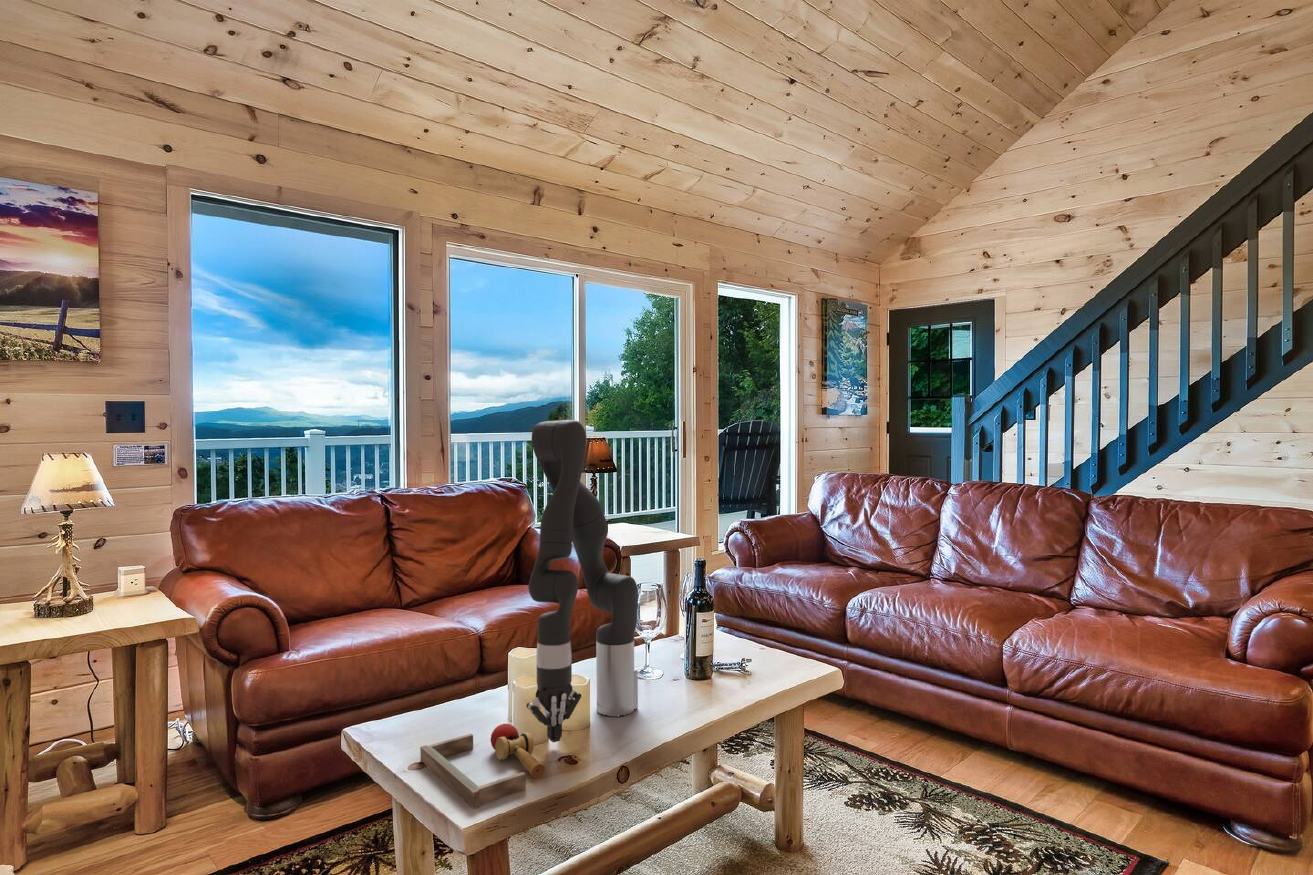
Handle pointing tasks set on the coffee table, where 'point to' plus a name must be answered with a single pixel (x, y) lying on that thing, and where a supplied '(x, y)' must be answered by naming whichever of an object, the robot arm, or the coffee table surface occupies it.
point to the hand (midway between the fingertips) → (554, 740)
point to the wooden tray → (462, 783)
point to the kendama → (516, 747)
